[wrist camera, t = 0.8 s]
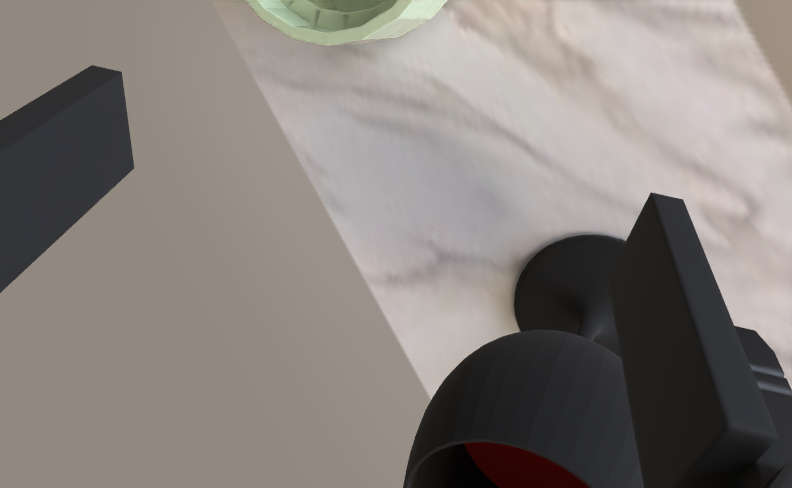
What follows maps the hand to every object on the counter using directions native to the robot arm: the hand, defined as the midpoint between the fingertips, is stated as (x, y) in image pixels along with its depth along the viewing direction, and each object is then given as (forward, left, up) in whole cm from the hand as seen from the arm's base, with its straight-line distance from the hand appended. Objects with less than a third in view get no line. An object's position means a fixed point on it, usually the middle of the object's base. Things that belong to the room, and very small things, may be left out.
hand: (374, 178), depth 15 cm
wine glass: (+11, +9, -24) cm, 27 cm away
